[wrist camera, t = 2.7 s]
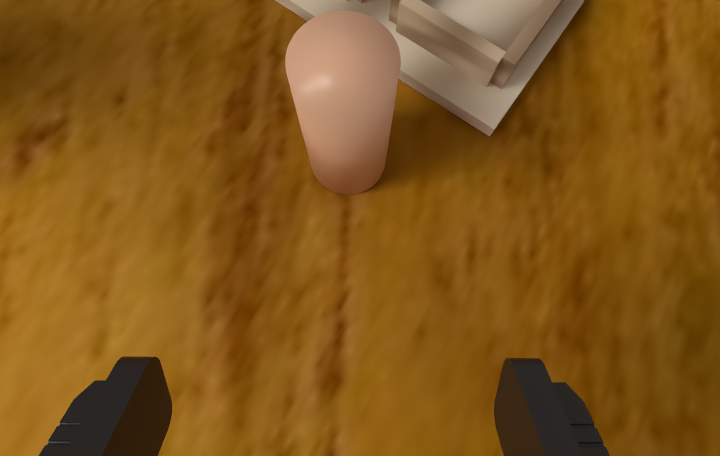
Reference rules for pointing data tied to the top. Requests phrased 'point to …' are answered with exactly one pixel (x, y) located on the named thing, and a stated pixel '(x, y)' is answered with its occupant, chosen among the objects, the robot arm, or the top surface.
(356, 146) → the pink tapered cylinder
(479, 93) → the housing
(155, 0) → the top surface
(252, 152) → the top surface
